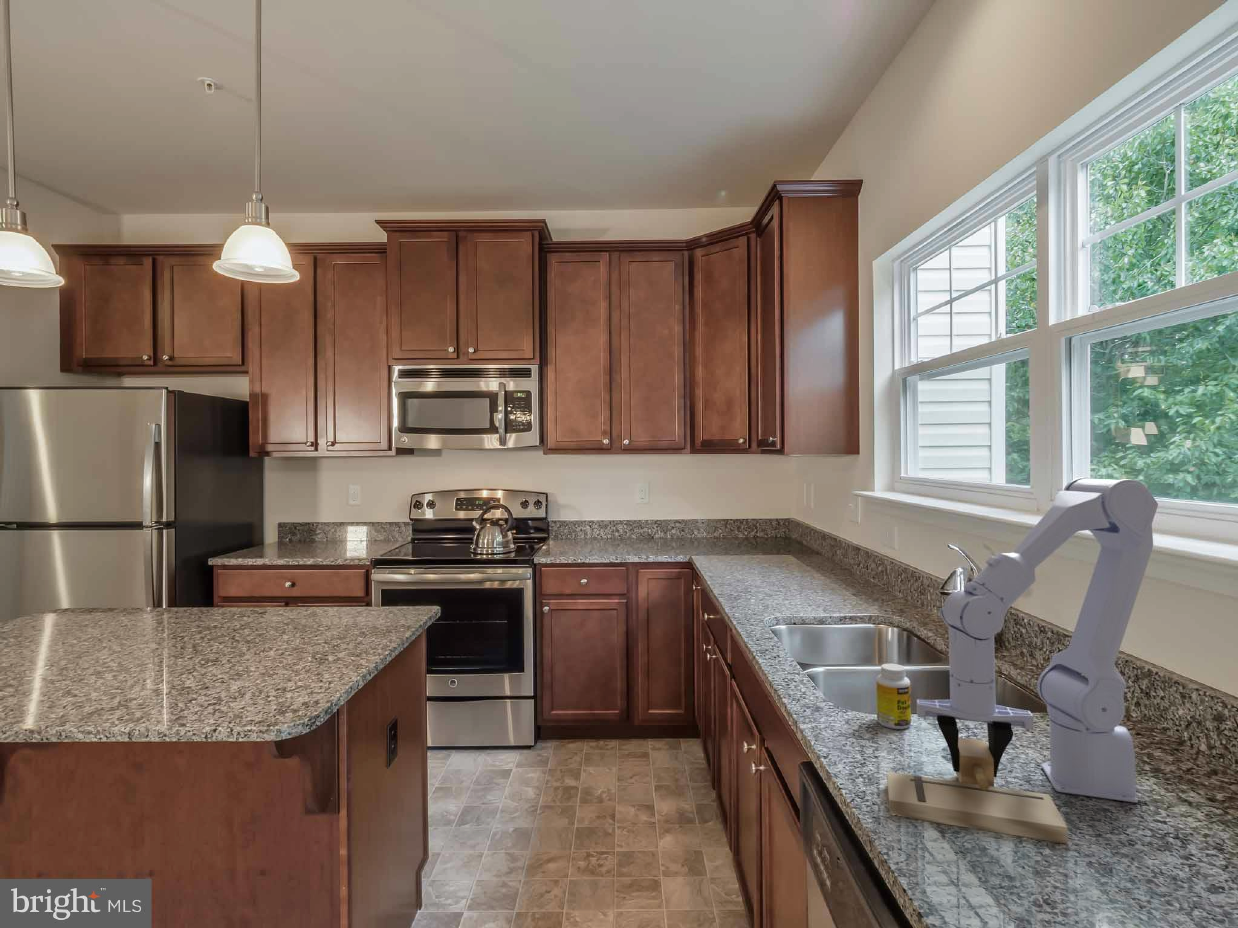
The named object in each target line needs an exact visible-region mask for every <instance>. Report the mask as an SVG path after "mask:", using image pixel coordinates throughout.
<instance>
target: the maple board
mask: <svg viewBox="0 0 1238 928" xmlns="http://www.w3.org/2000/svg"><path fill="white" fill-rule="evenodd" d="M886 782H887V783H886V784H887V785H886V786H887V787H886V788H887V797H888V809H889V810H890V811H889V815H890V814H895V815H900V816H903V817H902V818H906V817H909V818H908V819H912V818H914V819H913V820H918V819H919V821H926V822H932V823H937V824H944V825H951V826H955V827H956V826H957V827H963V828H967V829H968V828H969V829H976V830H979V831H980V830H982V831H986V832H987V831H988V832H994V833H998V834H1005V835H1006V834H1007V835H1012V836H1016V837H1017V836H1019V837H1023V838H1024V837H1025V838H1030V839H1037V840H1043V841H1048V842H1055V843H1061V844H1067V845H1068V843H1069V842H1068V841H1069V840H1068V839H1069V838H1068V837H1069V836H1068V834H1069V833H1068V826H1067V824H1066V822H1065V820H1064V819H1063V817H1062V815H1061V813H1060V812H1059V810H1058V808H1057V806H1056V804H1055V803H1054V801H1053V799H1052V798H1051V795H1050V794H1048V793H1041V792H1034V791H1028V790H1020V789H1013V788H1006V787H1001V786H1000V787H997V786H994V787H992V786H989V788H988V789H987V790H985V791H983V790H981V788H980V787H979V785H978V784H971V783H964V782H959V781H957V780H955V781H954V780H950V779H949V780H948V779H940V778H934V777H926V776H922V775H921V776H920V775H912V774H906V773H899V772H892V771H887V772H886ZM900 816H899V817H900Z"/></svg>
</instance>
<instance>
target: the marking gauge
mask: <svg viewBox="0 0 1238 928" xmlns="http://www.w3.org/2000/svg"><path fill="white" fill-rule="evenodd" d="M987 743H988V742H987V741H986V740H982V739H973V738H965V737H958V755H959V772H955V773H956V776H957V779H958V782H964V783H971V784H978V785H979V787H980V788H981V790H983V791H985V790H987V789H988V788H989V786H992V787H995V777H994V759H993V757H992V755H991V752H990V750H989V744H987Z"/></svg>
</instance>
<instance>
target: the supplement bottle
mask: <svg viewBox="0 0 1238 928" xmlns="http://www.w3.org/2000/svg"><path fill="white" fill-rule="evenodd" d="M880 665H881V666H880V674H879V675H877V677H876V720H877V721H878V723H879V724H880V725H881V726H883V727H885V728H888V729H891V730H892V729H894V730H905V729H908V728H909V727H910V726H911V724H912V717H911V716H912V712H911V711H912V708H911V707H912V705H911V704H912V702H911V696H912V695H911V681H910V679H909V678H908V677H907V676H906V675H907V674H906V673H907V672H906V667H905V666H903V665H901V664H897V663H883V664H880Z"/></svg>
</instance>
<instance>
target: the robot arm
mask: <svg viewBox="0 0 1238 928" xmlns="http://www.w3.org/2000/svg"><path fill="white" fill-rule="evenodd" d="M1052 503H1053V504H1052V506H1051V507H1050V508H1049V510H1048V511H1046V513H1045V514H1044V515H1043V516H1042V518H1041V519H1040V520H1038V522H1037V523H1036V525H1034V527H1033V528H1032V529H1031V530H1030V532H1029V533H1028V534H1027V535H1026V536H1025V537H1024V538H1023V540H1022V541H1021V542H1020V543H1019V545H1018V546H1017V547H1016V548H1015V549H1014V550H1013V551H1012V552H1009V553H1008V552H1007V553H1006V552H1005V553H1004V552H1002V553H1001V552H1000V553H998V554H997V555H996V556H992V555H991V556H989V558H988V559H987V560H986V561H985V563H986V564H987V565H986V566H985V567H984V568H983V569H981V571H980V572H979V573H978V574H977V575H976V576H975V577H974V578H973V579H972V580H971V581H966V583H965V584H964V585H963V590H958V591H953V592H952V593H950V594H949V595H948V596H947V597H946V599H945V600H944V602H943V606H942V607H941V608H939V614H940V618H941V619H942V620H943V622H944V623H945V624H946V626H947V630H948V633H947V635H948V654H949V655H948V659H949V660H948V663H949V665H948V666H949V698H950V699H916V714H917V717H918V718H922V719H923V718H927V717H929V718H930V717H931V718H936V721H937V724H938V728H939V730H940V732H941V733H942V736H943V738H944V740H945V742H946V745H947V747H948V750H949V753H950V758H951V766H952V769H953V772H955V773H956V772H959V755H958V738H959V735H960V734H959V732H960V731H959V727H958V722H957V721H965V722H968V721H969V722H975V723H985V724H986V728H987V741H988V742H987V743H988V744H987V745H988V748H989V750H990V752H991V755H992V757H993V759H994V778H997V774H998V769H999V765H1000V762H1001V760H1002V757H1003V755H1004V753H1005V751H1006V749H1007V747H1008V746H1009V745H1010V743H1011V742H1012V740H1013V737H1014V731H1013V729H1012V727H1022V728H1023V729H1024V730H1025V729H1026V730H1032V731H1033V730H1034V715H1033V714H1032V713H1031V711H1030V710H1024V709H1019V708H1013V707H1008V706H1003V705H998V704H997V701H996V700H997V699H996V697H997V696H996V663H995V662H996V659H995V656H996V655H995V652H996V651H995V635H996V634H998V633H1000V632H1001V631H1002V629H1003V627H1004V624H1005V617H1006V614H1007V613H1008V611H1009V610H1008V609H1010V607H1012V606H1013V604H1015V602H1016V601H1017V600H1018V599H1019V598H1020V597H1022V595H1024V593H1026V592H1027V591H1028V590H1029V588H1030V587H1031V586H1032V585H1034V583H1035V582H1036V579H1037V577H1036V568H1037V567H1039V566H1040V565H1041V564H1042V563H1043V562H1044V561H1046V559H1048V558H1049V557H1050V556H1051V555H1052V554H1053V553H1055V551H1057V550H1058V549H1059V548H1060V547H1061V546H1063V544H1065V543H1066V542H1067V541H1068V540H1070V538H1071V537H1073V536H1074V535H1075V534H1076V533H1078V532H1082V531H1083V532H1084V531H1089V533H1091V534H1092V536H1093V537H1094V539H1096V541H1097V542H1098V544H1099V545H1100V551H1099V553H1098V557H1097V559H1096V560H1097V561H1096V562H1095V565H1094V568H1093V572H1092V575H1091V579H1090V580H1089V584H1088V588H1087V591H1086V593H1085V597H1084V599H1083V602H1082V605H1081V609H1080V611H1079V615H1078V617H1077V621H1076V624H1075V627H1074V630H1073V632H1072V633H1073V634H1072V635H1071V638H1070V639H1071V640H1070V641H1069V645H1068V647H1067V648H1065V649H1063V650H1061V651H1059V652H1057V653H1055V654H1054V655H1052V657H1051V660H1050V663H1049V664H1048V666H1047V667H1046V668H1045V669H1044V670H1043V671H1042V673H1041V674H1040V675H1039V677H1038V679H1037V684H1036V686H1037V687H1036V689H1037V692H1038V696H1039V697H1040V699H1041V700H1042V701H1043V702H1044V703H1045V704H1046V711H1047V713H1048V714H1049V715H1048V717H1049V718H1048V719H1049V756H1050V757H1049V762H1050V763H1045V762H1044V763H1041V768H1042V769H1043V771H1044V772H1045V775H1046V776H1047V778H1048V780H1049V781H1050V783H1051V785H1052V787H1053V788H1054V790H1055V791H1056V792H1059V793H1064V794H1071V795H1079V796H1085V797H1086V796H1087V797H1093V798H1094V797H1095V798H1101V799H1107V800H1108V799H1109V800H1116V801H1123V802H1131V803H1138V802H1139V798H1138V797H1137V796H1136V794H1137V793H1136V790H1137V788H1136V787H1137V786H1136V754H1135V753H1136V752H1135V747H1134V742H1133V738H1132V736H1131V733H1130V731H1129V730H1128V728H1126V727H1125V726H1122V725H1120V724H1121V722H1122V721H1123V719H1124V717H1125V712H1126V706H1125V700H1124V699H1125V698H1124V697H1125V691H1126V688H1127V683H1126V681H1125V680H1124V678H1123V676H1122V674H1121V673H1120V671H1119V670H1118V668H1117V667H1116V661H1117V657H1118V655H1119V651H1120V648H1121V645H1122V642H1123V639H1124V636H1125V634H1126V630H1127V626H1128V624H1129V621H1130V618H1131V615H1132V612H1133V609H1134V606H1135V603H1136V600H1137V597H1138V594H1139V591H1140V588H1141V584H1142V582H1143V578H1144V576H1145V573H1146V570H1147V566H1148V565H1149V560H1150V557H1151V554H1152V551H1153V548H1154V538H1153V521H1154V519H1155V515H1156V513H1157V510H1158V506H1159V503H1158V501H1157V500H1156V499H1155V497H1154V496H1153V494H1152V492H1151V491H1150V490H1149V489H1148V487H1147V486H1146V485H1145V484H1143V483H1142V482H1140V481H1138V480H1135V479H1129V478H1126V479H1105V478H1104V479H1102V478H1089V477H1077V478H1074V479H1072V480H1071V481H1069V482H1068V483H1067V484H1065V486H1064V488H1063V490H1060V491H1059V492H1058V493H1056V494H1055V495H1054V498H1053V502H1052Z"/></svg>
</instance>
